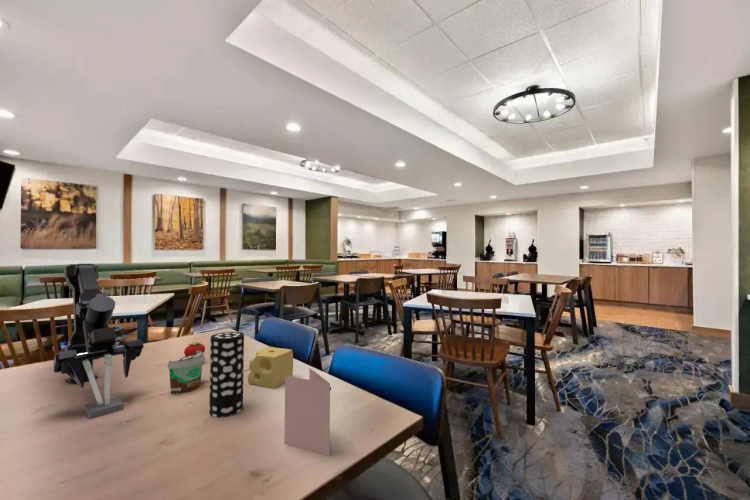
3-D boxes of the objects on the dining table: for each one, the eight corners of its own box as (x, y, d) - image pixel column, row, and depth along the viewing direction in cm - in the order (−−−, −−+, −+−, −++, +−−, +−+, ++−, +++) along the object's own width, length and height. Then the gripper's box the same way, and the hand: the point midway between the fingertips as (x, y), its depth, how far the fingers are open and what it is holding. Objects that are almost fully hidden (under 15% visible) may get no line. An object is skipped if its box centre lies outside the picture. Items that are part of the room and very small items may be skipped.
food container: (184, 397, 96) (185, 363, 96) (166, 395, 97) (167, 361, 97) (213, 381, 108) (213, 351, 108) (197, 380, 109) (197, 350, 109)
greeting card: (333, 454, 69) (333, 382, 69) (299, 466, 65) (299, 390, 65) (312, 430, 78) (313, 367, 78) (281, 439, 74) (282, 372, 74)
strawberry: (180, 366, 123) (180, 339, 123) (198, 360, 129) (199, 335, 130) (189, 368, 120) (190, 341, 120) (208, 362, 127) (209, 337, 127)
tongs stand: (84, 410, 87) (85, 355, 87) (116, 401, 92) (118, 350, 93) (89, 419, 83) (90, 361, 83) (123, 409, 88) (124, 355, 88)
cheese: (247, 384, 106) (248, 353, 106) (269, 373, 116) (270, 345, 116) (273, 389, 102) (274, 357, 102) (294, 378, 112) (294, 348, 112)
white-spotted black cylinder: (249, 405, 91) (250, 333, 91) (227, 419, 83) (228, 340, 83) (225, 400, 93) (227, 330, 94) (201, 414, 86) (203, 337, 86)
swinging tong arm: (96, 403, 88) (82, 361, 85) (101, 401, 88) (87, 359, 86) (99, 406, 86) (84, 363, 84) (104, 404, 87) (89, 361, 84)
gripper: (55, 321, 84) (60, 374, 76) (142, 312, 98) (153, 356, 90) (51, 346, 89) (55, 399, 81) (134, 334, 103) (144, 378, 95)
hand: (105, 381), depth 87 cm, fingers open, 9 cm apart
